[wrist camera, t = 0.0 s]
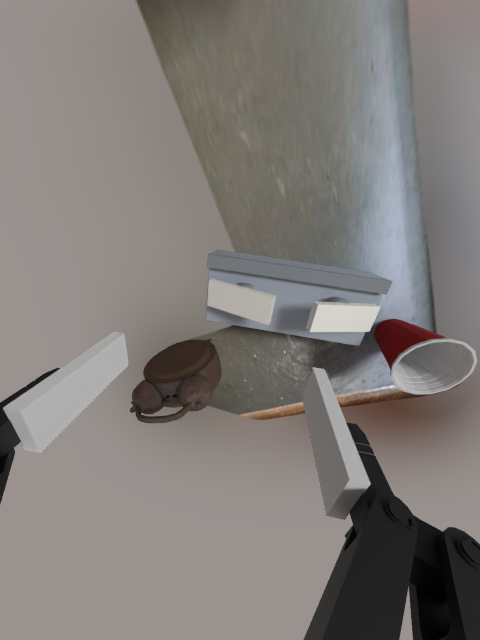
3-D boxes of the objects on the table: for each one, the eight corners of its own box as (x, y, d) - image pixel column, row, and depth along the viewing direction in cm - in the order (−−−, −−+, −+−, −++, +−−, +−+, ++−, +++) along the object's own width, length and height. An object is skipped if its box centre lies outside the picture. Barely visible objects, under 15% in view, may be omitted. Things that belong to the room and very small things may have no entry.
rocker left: (220, 276, 36) (208, 280, 32) (281, 291, 32) (273, 297, 28) (218, 299, 37) (207, 305, 34) (275, 317, 33) (267, 325, 30)
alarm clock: (174, 364, 51) (123, 440, 33) (165, 339, 48) (103, 406, 30) (230, 359, 48) (209, 438, 30) (224, 332, 45) (195, 402, 27)
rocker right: (304, 295, 31) (318, 304, 28) (362, 298, 34) (380, 306, 31) (297, 320, 33) (309, 332, 30) (353, 321, 36) (369, 331, 33)
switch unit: (218, 249, 38) (208, 254, 32) (370, 272, 36) (392, 281, 30) (213, 309, 43) (204, 324, 37) (346, 331, 42) (361, 350, 35)
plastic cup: (354, 353, 44) (383, 395, 33) (368, 305, 39) (407, 336, 28) (408, 357, 42) (457, 402, 32) (429, 309, 38) (495, 342, 27)
